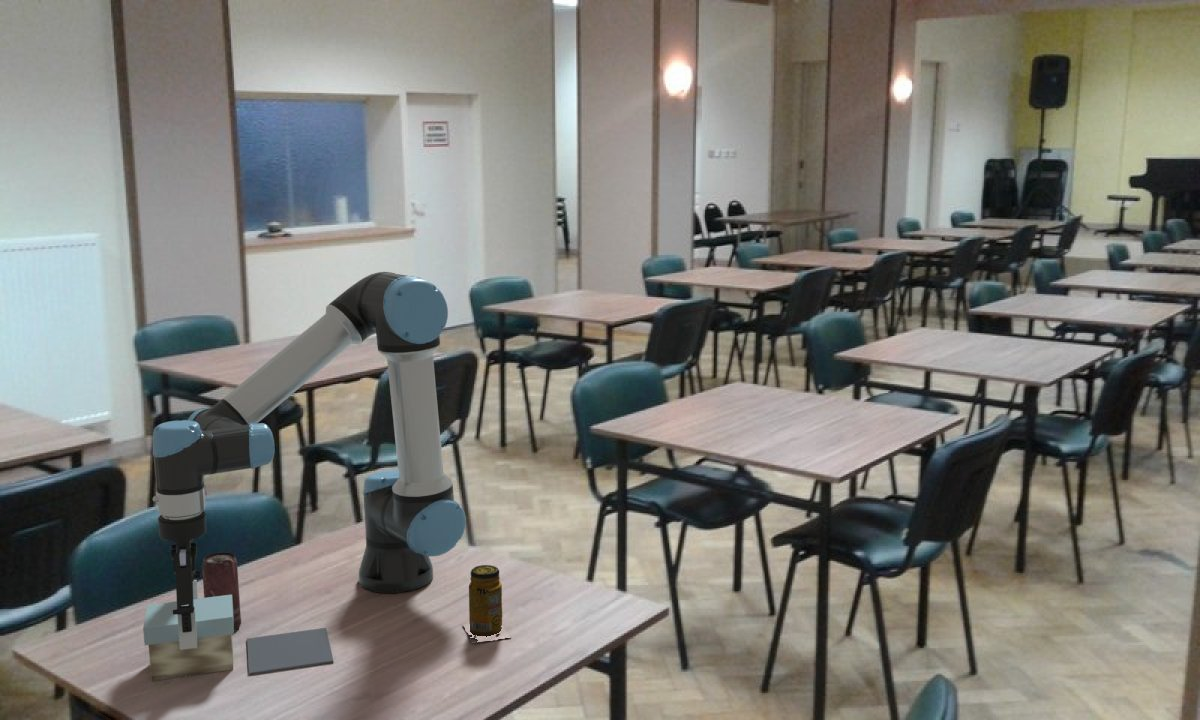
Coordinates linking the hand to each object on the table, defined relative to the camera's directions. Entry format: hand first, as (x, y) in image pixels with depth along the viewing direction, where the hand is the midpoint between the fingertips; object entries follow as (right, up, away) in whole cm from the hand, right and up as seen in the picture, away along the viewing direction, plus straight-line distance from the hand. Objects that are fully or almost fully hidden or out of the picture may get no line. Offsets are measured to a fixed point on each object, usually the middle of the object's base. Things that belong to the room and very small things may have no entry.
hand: (189, 631), depth 186 cm
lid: (0, +1, 0) cm, 1 cm away
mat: (+15, -5, +6) cm, 17 cm away
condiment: (+50, -4, +14) cm, 52 cm away
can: (+1, -4, +16) cm, 16 cm away
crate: (0, -6, +1) cm, 6 cm away
